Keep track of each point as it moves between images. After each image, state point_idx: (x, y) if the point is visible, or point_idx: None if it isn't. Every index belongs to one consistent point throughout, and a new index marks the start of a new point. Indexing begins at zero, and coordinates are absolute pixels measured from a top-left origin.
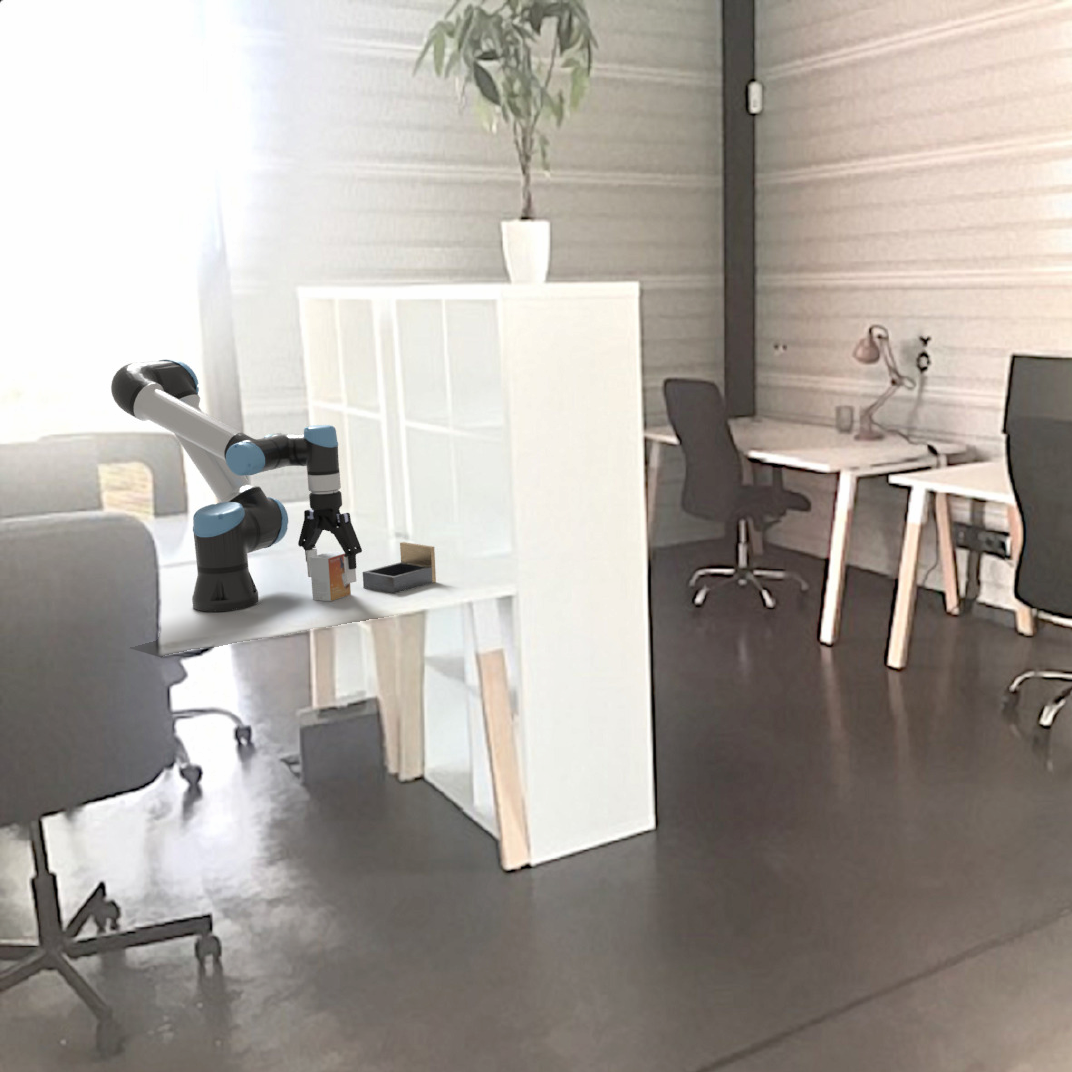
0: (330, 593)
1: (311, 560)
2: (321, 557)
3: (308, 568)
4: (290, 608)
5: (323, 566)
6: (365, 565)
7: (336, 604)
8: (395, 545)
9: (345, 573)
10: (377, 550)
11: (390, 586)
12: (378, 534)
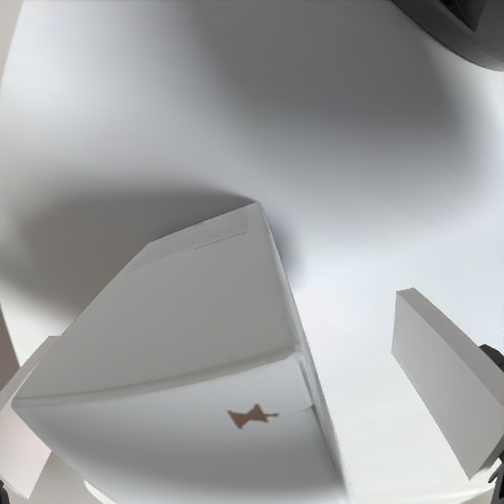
0: (133, 257)
1: (253, 322)
2: (100, 423)
3: (435, 318)
4: (191, 37)
5: (86, 334)
6: (442, 468)
7: (96, 238)
8: (459, 496)
9: (27, 369)
10: (471, 481)
11: None
12: None
